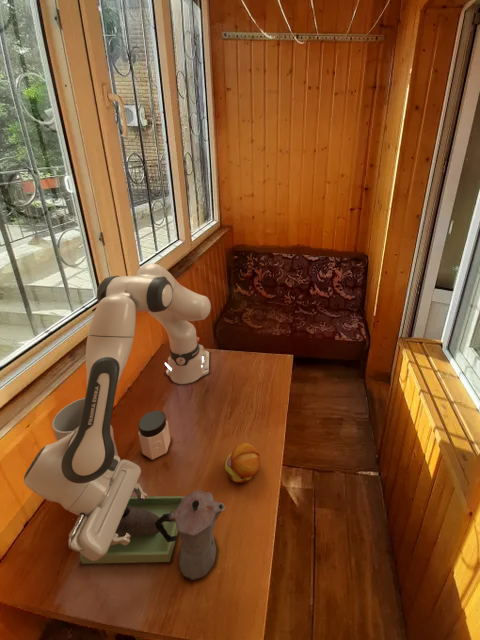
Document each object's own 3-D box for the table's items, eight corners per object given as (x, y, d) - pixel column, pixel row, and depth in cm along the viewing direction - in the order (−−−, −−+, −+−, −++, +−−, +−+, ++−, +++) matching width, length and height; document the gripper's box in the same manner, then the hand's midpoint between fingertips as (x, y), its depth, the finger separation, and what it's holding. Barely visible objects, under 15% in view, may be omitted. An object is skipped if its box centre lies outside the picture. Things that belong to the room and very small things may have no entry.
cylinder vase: (123, 453, 102) (108, 392, 94) (117, 490, 91) (100, 424, 83) (79, 465, 98) (60, 403, 90) (68, 506, 87) (45, 438, 79)
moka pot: (230, 571, 74) (225, 517, 67) (161, 596, 70) (149, 540, 63) (226, 526, 83) (221, 474, 76) (164, 546, 79) (154, 493, 72)
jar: (144, 464, 99) (139, 436, 95) (140, 444, 105) (134, 417, 101) (173, 450, 103) (169, 423, 99) (167, 432, 110) (163, 406, 106)
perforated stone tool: (169, 522, 83) (166, 505, 81) (160, 546, 78) (156, 528, 76) (116, 516, 84) (111, 499, 82) (103, 539, 79) (98, 522, 77)
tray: (110, 504, 88) (108, 496, 87) (185, 503, 88) (184, 495, 87) (81, 563, 75) (79, 555, 74) (169, 562, 76) (168, 554, 75)
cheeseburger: (240, 447, 104) (244, 428, 100) (264, 470, 100) (270, 452, 95) (217, 470, 97) (221, 452, 92) (242, 497, 92) (247, 479, 87)
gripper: (71, 538, 66) (125, 564, 70) (119, 449, 85) (159, 473, 89) (55, 551, 67) (109, 576, 71) (105, 460, 87) (146, 484, 90)
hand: (137, 518), depth 80 cm, fingers open, 8 cm apart
